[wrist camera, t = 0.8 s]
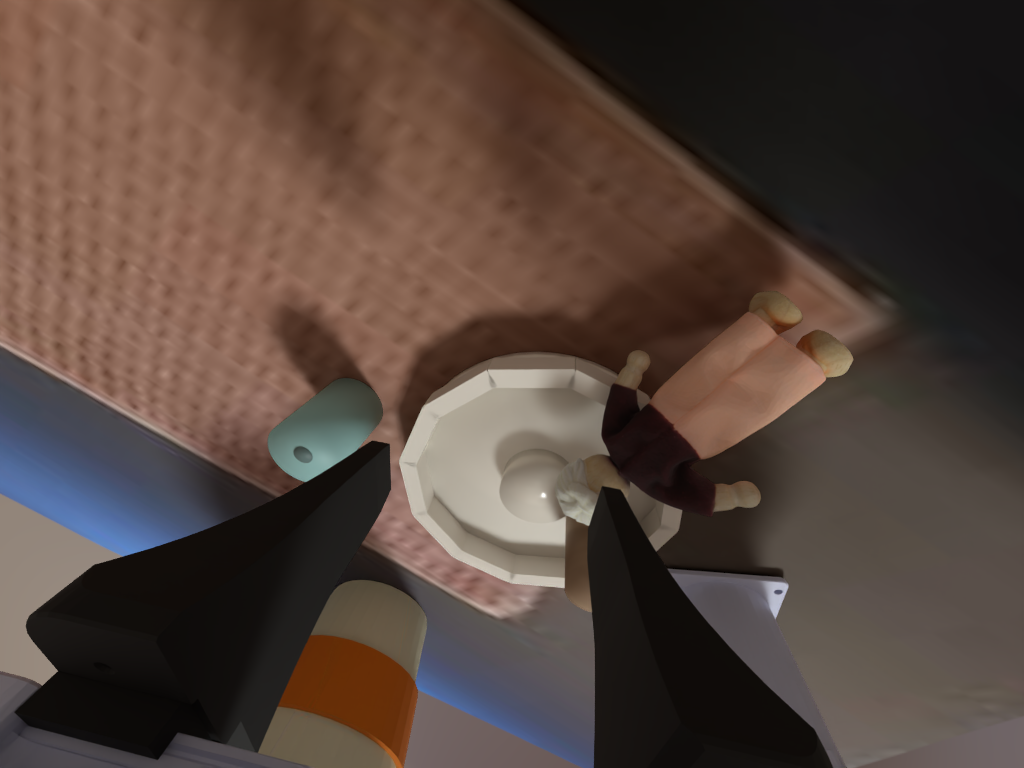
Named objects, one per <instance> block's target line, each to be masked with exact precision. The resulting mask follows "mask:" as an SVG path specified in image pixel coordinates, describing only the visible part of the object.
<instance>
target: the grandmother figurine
mask: <svg viewBox="0 0 1024 768" xmlns="http://www.w3.org/2000/svg"><path fill="white" fill-rule="evenodd" d="M802 319H803V316H802V314H801V312H800V310H799V309H798V308H797V307H796V306H795V305H794V304H793V303H792V302H791V301H790V300H789V299H788V298H787V297H786V296H784V295H783V294H781V293H779V292H777V291H768V292H760V293H757V294H755V295H754V297H753V298H752V300H751V302H750V304H749V312H747V313H745V314H744V315H743V316H742V317H741V318H740V319H738V320H737V321H736V322H735V323H733V324H732V325H731V326H730V327H728V328H727V329H726V330H725V331H723V332H722V333H721V334H719V335H718V336H717V337H716V338H714V339H713V340H712V341H711V342H710V343H709V344H708V345H707V346H705V347H704V348H703V349H702V350H700V351H699V352H698V353H697V354H696V355H695V356H694V357H693V358H691V359H690V360H689V361H688V362H687V363H686V364H685V365H683V366H682V367H681V368H680V369H679V370H678V371H677V372H676V373H675V374H674V375H673V376H672V377H670V379H669V380H668V381H666V382H665V383H664V384H663V385H662V386H661V387H660V388H659V389H658V390H657V392H656V393H655V394H654V396H653V397H652V399H651V400H650V402H649V403H648V404H647V405H646V406H644V407H643V408H642V410H641V411H640V408H639V406H638V402H637V399H638V398H637V388H638V386H639V384H640V383H641V381H642V374H643V373H644V371H646V370H647V369H648V367H649V365H650V357H649V355H648V354H647V353H646V352H644V351H641V350H635V351H633V352H631V353H630V354H629V356H628V358H627V364H626V366H625V367H624V368H623V369H622V370H621V372H620V373H619V375H618V377H617V379H616V381H615V383H613V384H612V386H611V389H610V393H609V396H608V400H607V403H606V407H605V411H604V416H603V422H602V429H601V437H602V440H603V442H604V444H605V445H606V448H607V450H608V452H609V454H610V456H608V455H603V454H597V455H593V456H590V457H588V458H586V459H585V460H582V459H581V458H578V459H577V460H576V462H573V463H569V464H567V465H566V466H565V467H564V468H563V470H562V471H561V473H560V474H559V476H558V478H557V480H556V485H555V495H556V497H557V499H558V501H559V505H560V506H561V508H562V511H563V513H564V514H565V515H566V516H569V517H571V518H573V519H576V521H577V522H580V523H584V524H585V525H588V526H589V524H590V521H591V518H592V515H593V512H594V509H595V506H596V503H597V500H598V496H599V493H600V490H601V487H602V486H606V487H611V488H616V489H621V491H622V492H623V494H624V496H625V497H626V499H627V497H628V495H629V492H630V482H632V483H633V484H634V485H636V486H637V487H638V488H639V489H640V490H641V491H643V492H644V493H646V494H647V495H649V496H650V497H652V498H654V499H655V500H657V501H659V502H661V503H664V504H666V505H668V506H671V507H674V508H677V509H680V510H683V511H687V512H691V513H696V514H700V515H704V516H709V517H712V516H713V513H714V512H716V511H724V510H731V509H733V508H735V507H737V506H740V507H744V508H752V507H755V506H757V505H758V504H759V502H760V500H761V495H760V491H759V490H758V488H757V487H756V486H755V485H754V484H753V483H751V482H748V481H739V482H736V483H734V484H732V485H727V484H723V483H722V484H714V483H712V482H711V481H710V480H708V479H707V478H705V477H704V476H702V475H700V474H699V473H698V472H696V471H695V470H693V469H692V468H691V467H690V466H691V465H692V464H693V463H695V462H697V461H699V460H702V459H707V458H711V457H713V456H715V455H717V454H719V453H721V452H723V451H724V450H726V449H728V448H730V447H732V446H733V445H735V444H737V443H738V442H740V441H741V440H743V439H744V438H746V437H748V436H749V435H751V434H752V433H754V432H756V431H757V430H759V429H761V428H763V427H764V426H766V425H767V424H769V423H770V422H772V421H773V420H775V419H776V418H777V417H779V416H780V415H781V414H783V413H784V412H785V411H787V410H788V409H789V408H790V407H792V406H793V405H794V404H796V403H797V402H798V401H800V400H801V399H802V398H804V397H805V396H806V395H808V394H809V393H810V392H812V391H813V390H815V389H816V388H817V387H818V386H820V385H821V384H822V383H823V382H824V381H825V380H826V377H836V376H840V375H843V374H845V373H846V372H847V371H848V369H849V367H850V365H851V364H852V361H853V357H852V355H851V353H850V351H849V350H848V349H847V348H846V347H845V346H844V345H843V344H842V343H841V342H840V341H838V340H837V339H836V338H834V337H833V336H832V335H830V334H829V333H827V332H825V331H821V330H815V331H812V332H810V333H809V334H807V335H805V336H803V337H802V338H801V339H800V341H799V342H798V343H797V346H796V347H795V346H793V345H792V344H791V343H789V342H788V341H786V340H785V339H784V338H782V337H781V336H779V334H780V333H782V332H784V331H786V330H789V329H791V328H792V327H794V326H795V325H797V324H799V323H800V322H801V321H802Z"/></svg>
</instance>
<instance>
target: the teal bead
mask: <svg viewBox="0 0 1024 768" xmlns="http://www.w3.org/2000/svg"><path fill="white" fill-rule="evenodd" d="M382 416H383V408H382V404H381V401H380V399H379V397H378V396H377V394H376V393H375V392H374V391H373V390H372V389H371V388H370V387H369V386H367V385H366V384H364V383H363V382H361V381H358V380H355V379H351V378H341V379H337V380H335V381H333V382H332V383H330V384H329V385H328V386H327V387H325V388H324V389H323V390H322V391H320V392H319V393H318V394H316V395H315V396H314V397H313V398H311V399H310V400H309V401H308V402H306V403H305V404H304V405H303V406H301V407H300V408H299V409H298V410H296V411H295V412H294V413H293V414H291V415H290V416H289V417H287V418H286V419H285V420H284V421H282V422H281V423H280V424H279V425H277V426H276V427H275V428H274V429H273V430H272V431H271V432H270V434H269V437H268V448H269V452H270V454H271V456H272V458H273V459H274V461H275V462H276V463H277V465H278V466H279V467H280V468H281V469H282V470H284V471H285V472H286V473H287V474H289V475H290V476H292V477H294V478H296V479H298V480H301V481H304V482H307V481H309V480H310V479H312V478H314V477H316V476H317V475H319V474H321V473H322V472H324V471H325V470H327V469H329V468H330V467H332V466H333V465H335V464H337V463H338V462H340V461H341V460H343V459H344V458H346V457H348V456H349V455H351V454H352V453H354V452H355V451H357V449H358V448H359V447H360V446H361V445H362V443H363V442H364V441H365V440H366V439H367V437H368V436H369V435H370V434H371V433H372V431H373V430H374V429H375V428H376V427H377V425H378V424H379V423H380V421H381V419H382Z"/></svg>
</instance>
